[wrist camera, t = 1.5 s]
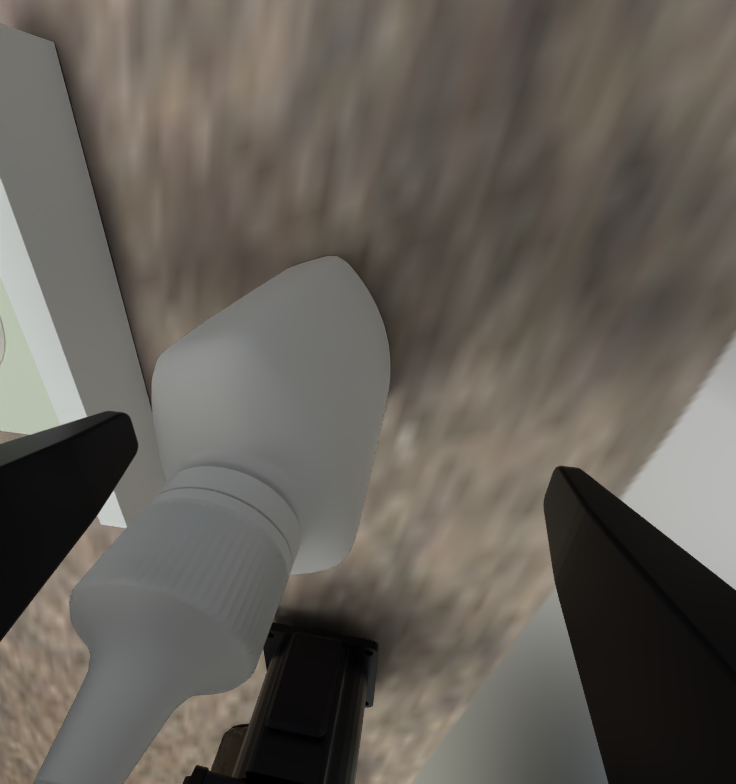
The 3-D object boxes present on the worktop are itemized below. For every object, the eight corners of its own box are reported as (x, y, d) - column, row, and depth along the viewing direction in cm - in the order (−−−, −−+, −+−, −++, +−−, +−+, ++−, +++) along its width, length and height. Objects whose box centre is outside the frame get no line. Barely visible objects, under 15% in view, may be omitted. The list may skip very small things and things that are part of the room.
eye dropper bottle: (274, 388, 16) (-57, 823, 5) (289, 240, 13) (-367, 534, 2) (381, 416, 15) (269, 919, 5) (421, 273, 13) (357, 739, 2)
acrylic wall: (170, 479, 19) (127, 528, 16) (146, 476, 19) (100, 524, 16) (53, 42, 11) (-64, 1, 8) (15, 41, 11) (-112, 1, 9)
